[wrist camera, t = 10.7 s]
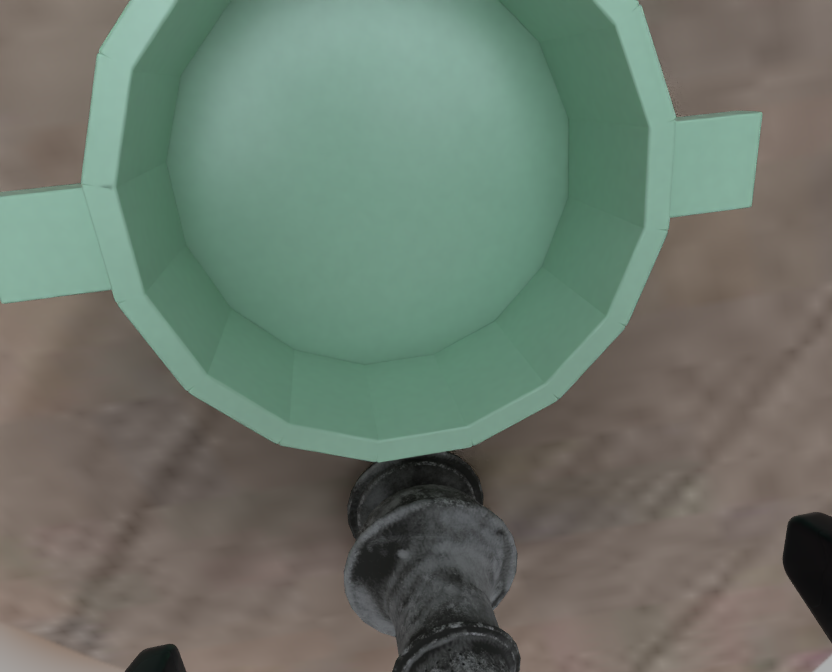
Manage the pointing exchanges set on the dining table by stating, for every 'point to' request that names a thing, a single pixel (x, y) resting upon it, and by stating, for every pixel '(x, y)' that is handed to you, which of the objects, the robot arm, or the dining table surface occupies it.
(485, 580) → the dark grey tall piece
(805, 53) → the dining table surface
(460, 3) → the pot
